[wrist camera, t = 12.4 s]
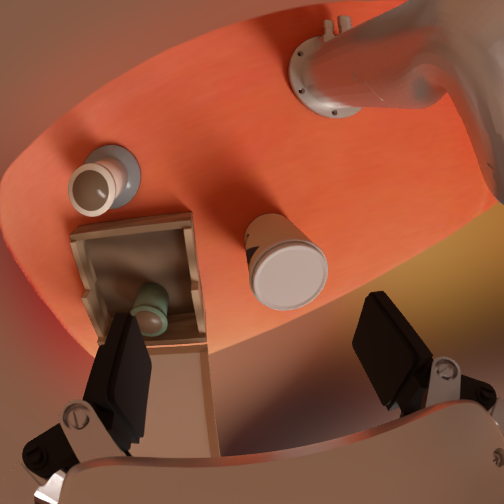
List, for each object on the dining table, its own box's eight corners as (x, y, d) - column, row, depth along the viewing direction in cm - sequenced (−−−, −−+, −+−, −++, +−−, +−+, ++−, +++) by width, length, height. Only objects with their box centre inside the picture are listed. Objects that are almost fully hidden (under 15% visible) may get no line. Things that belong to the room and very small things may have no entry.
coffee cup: (229, 220, 39) (238, 261, 29) (291, 198, 39) (322, 230, 29) (250, 272, 44) (264, 322, 33) (305, 252, 44) (335, 295, 33)
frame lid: (96, 462, 25) (99, 462, 26) (221, 467, 27) (222, 467, 28) (99, 348, 38) (101, 350, 38) (207, 344, 40) (207, 346, 41)
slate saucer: (79, 151, 31) (76, 152, 30) (137, 139, 32) (136, 139, 31) (89, 211, 35) (87, 212, 34) (145, 203, 36) (143, 204, 36)
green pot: (135, 279, 40) (127, 304, 35) (171, 283, 42) (167, 310, 36) (136, 307, 43) (129, 334, 37) (170, 312, 44) (167, 339, 39)
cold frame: (78, 225, 36) (59, 245, 30) (192, 211, 38) (189, 230, 32) (108, 319, 44) (99, 346, 38) (205, 313, 46) (206, 342, 40)
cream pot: (87, 159, 31) (63, 169, 25) (127, 151, 32) (109, 159, 26) (94, 202, 34) (73, 220, 28) (133, 196, 35) (118, 213, 28)
